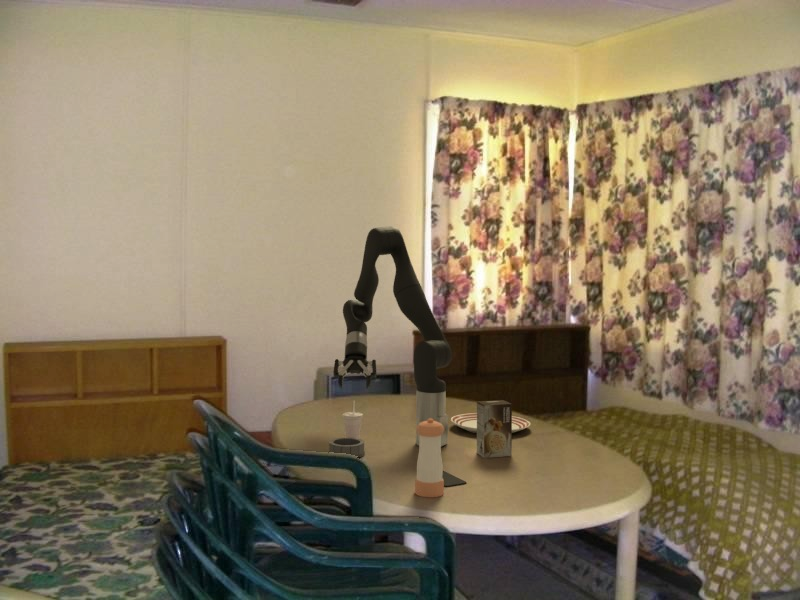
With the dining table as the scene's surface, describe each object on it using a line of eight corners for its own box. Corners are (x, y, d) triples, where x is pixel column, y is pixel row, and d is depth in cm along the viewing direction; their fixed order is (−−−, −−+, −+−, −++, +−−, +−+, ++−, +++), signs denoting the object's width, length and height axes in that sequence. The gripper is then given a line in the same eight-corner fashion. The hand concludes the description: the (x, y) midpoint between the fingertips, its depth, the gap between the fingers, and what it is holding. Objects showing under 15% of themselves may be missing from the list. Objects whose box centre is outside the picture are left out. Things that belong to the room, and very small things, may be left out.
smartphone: (445, 486, 203) (415, 470, 216) (445, 490, 203) (415, 474, 216) (468, 482, 207) (437, 467, 220) (468, 485, 207) (437, 470, 220)
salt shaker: (449, 493, 199) (450, 418, 198) (430, 499, 194) (431, 423, 192) (428, 486, 204) (429, 414, 203) (409, 492, 199) (410, 418, 198)
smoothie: (354, 447, 242) (355, 403, 241) (338, 444, 246) (338, 400, 245) (366, 443, 248) (366, 400, 247) (350, 440, 251) (350, 397, 250)
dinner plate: (494, 417, 289) (495, 408, 289) (547, 432, 266) (547, 423, 266) (434, 426, 274) (434, 416, 274) (484, 443, 251) (484, 432, 251)
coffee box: (503, 451, 241) (504, 399, 240) (512, 456, 235) (513, 403, 234) (475, 452, 238) (476, 400, 237) (483, 458, 232) (484, 405, 231)
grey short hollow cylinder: (371, 452, 237) (371, 440, 237) (352, 461, 227) (352, 448, 227) (341, 447, 242) (341, 435, 242) (321, 455, 233) (321, 443, 232)
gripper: (334, 340, 264) (332, 380, 253) (376, 341, 264) (376, 380, 254) (335, 354, 270) (333, 393, 259) (377, 354, 270) (376, 393, 259)
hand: (354, 387), depth 256 cm, fingers open, 8 cm apart
